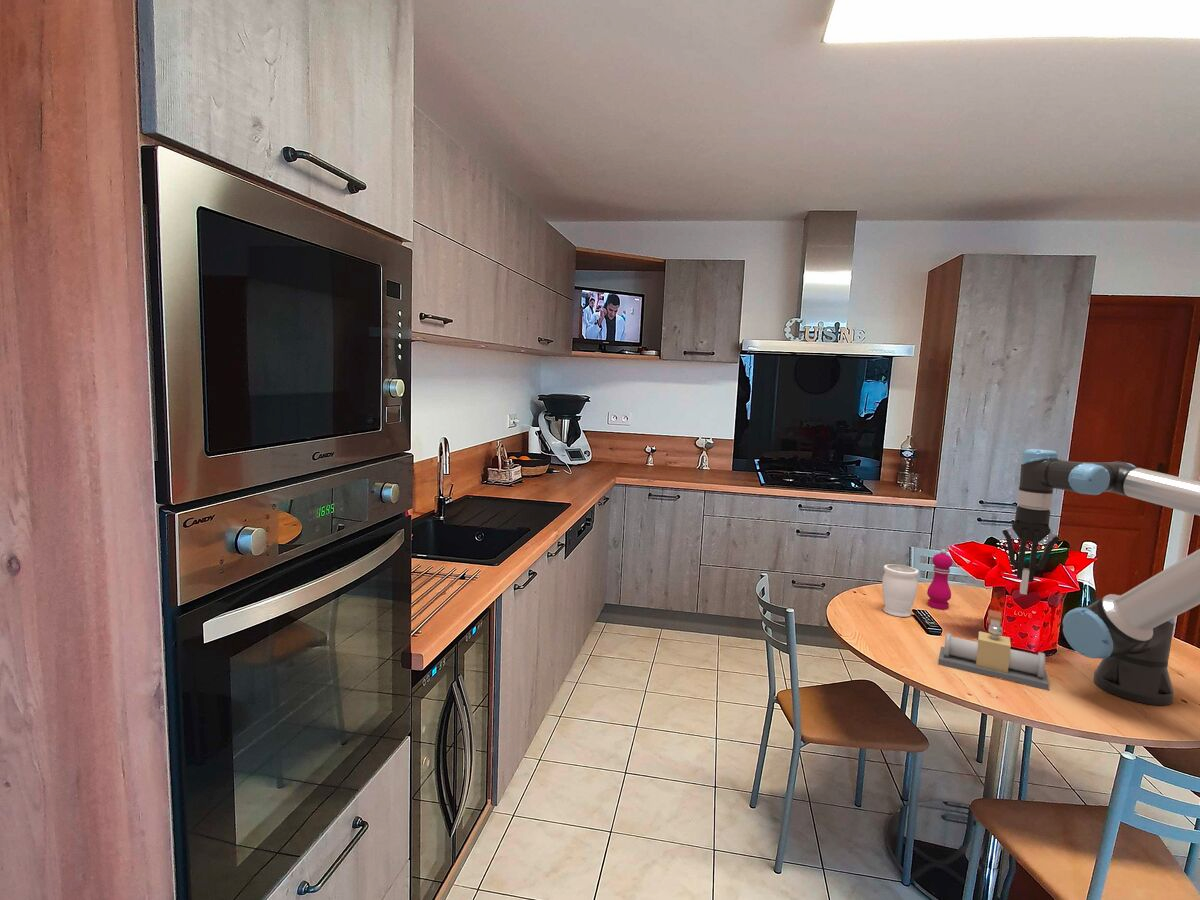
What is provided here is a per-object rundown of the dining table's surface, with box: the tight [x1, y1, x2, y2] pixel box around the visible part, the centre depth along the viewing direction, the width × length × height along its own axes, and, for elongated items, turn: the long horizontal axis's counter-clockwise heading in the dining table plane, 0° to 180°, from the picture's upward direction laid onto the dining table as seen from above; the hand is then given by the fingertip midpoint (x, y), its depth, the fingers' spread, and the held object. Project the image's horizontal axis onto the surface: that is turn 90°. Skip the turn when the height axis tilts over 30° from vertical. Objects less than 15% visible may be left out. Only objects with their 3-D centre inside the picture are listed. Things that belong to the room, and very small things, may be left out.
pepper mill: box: [926, 548, 953, 611], centre depth 212 cm, size 7×7×20 cm
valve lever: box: [987, 609, 1003, 636], centre depth 169 cm, size 16×3×2 cm, turn 148°
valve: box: [938, 631, 1050, 691], centre depth 164 cm, size 24×10×10 cm, turn 58°
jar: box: [881, 563, 919, 618], centre depth 204 cm, size 11×10×15 cm
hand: (1023, 592), depth 169 cm, fingers closed
